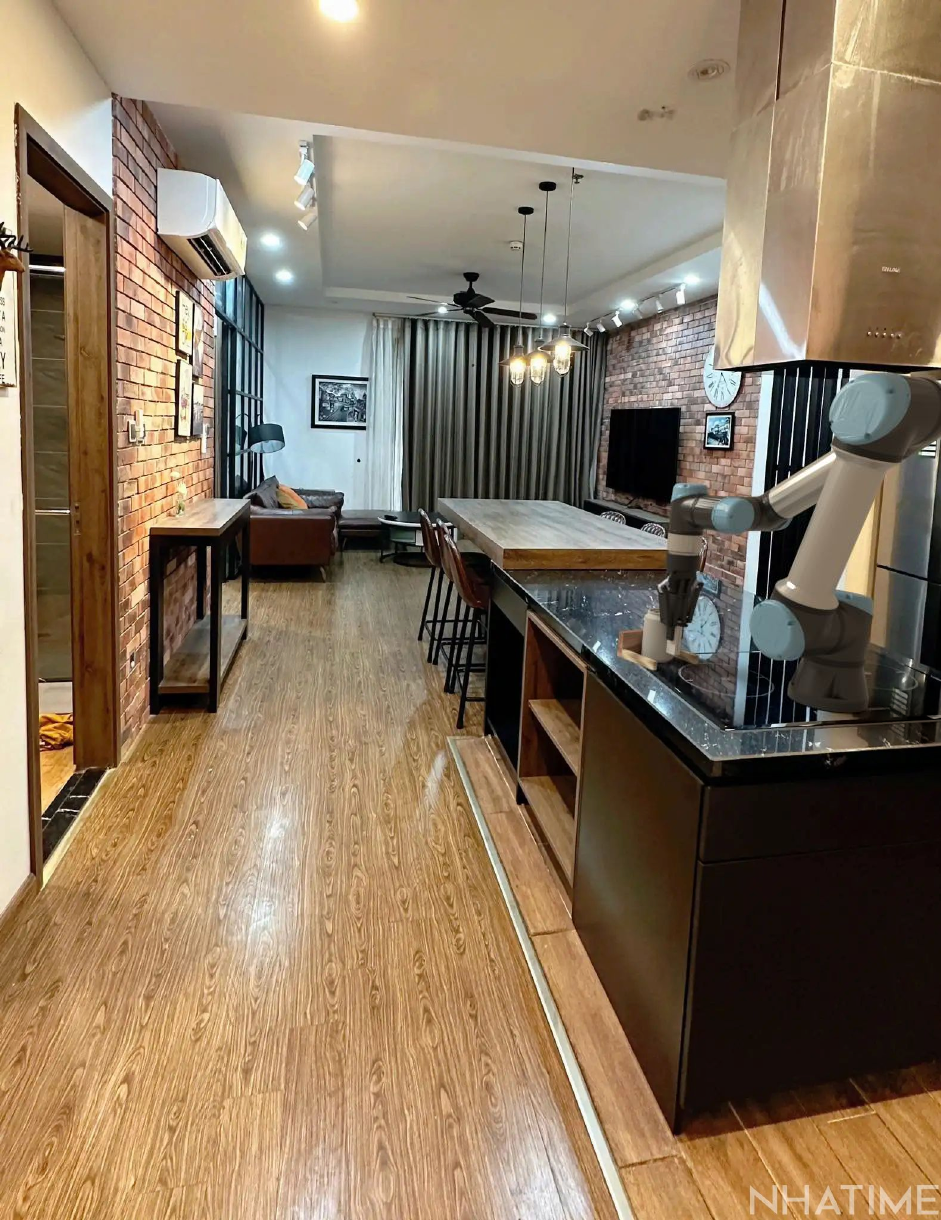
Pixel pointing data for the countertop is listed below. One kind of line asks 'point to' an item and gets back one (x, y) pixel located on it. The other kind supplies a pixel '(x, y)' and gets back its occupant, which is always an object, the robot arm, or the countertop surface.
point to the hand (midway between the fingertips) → (672, 653)
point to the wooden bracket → (633, 646)
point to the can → (655, 638)
